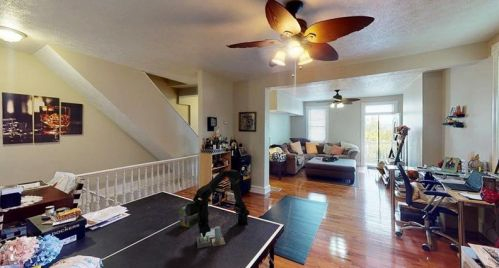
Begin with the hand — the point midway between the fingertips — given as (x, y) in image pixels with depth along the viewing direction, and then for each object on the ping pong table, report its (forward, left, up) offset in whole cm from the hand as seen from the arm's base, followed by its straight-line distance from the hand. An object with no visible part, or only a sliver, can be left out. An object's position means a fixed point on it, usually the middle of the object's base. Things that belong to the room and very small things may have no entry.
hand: (203, 236), depth 118 cm
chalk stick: (-8, +2, -3) cm, 9 cm away
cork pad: (-8, +2, -4) cm, 9 cm away
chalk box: (+8, -26, -4) cm, 28 cm away
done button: (0, +1, -3) cm, 4 cm away
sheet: (-5, -9, -4) cm, 11 cm away
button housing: (0, +1, -4) cm, 4 cm away
